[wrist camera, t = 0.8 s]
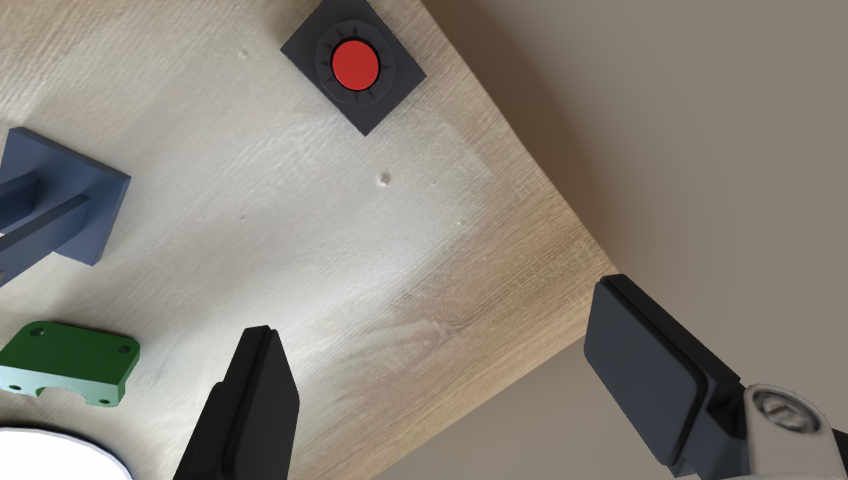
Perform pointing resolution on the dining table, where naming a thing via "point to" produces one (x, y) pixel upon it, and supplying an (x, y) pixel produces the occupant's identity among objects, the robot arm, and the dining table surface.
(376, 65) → the button
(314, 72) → the button box
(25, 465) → the plate
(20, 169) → the bracket
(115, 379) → the green mounting block
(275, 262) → the dining table surface
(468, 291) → the dining table surface
